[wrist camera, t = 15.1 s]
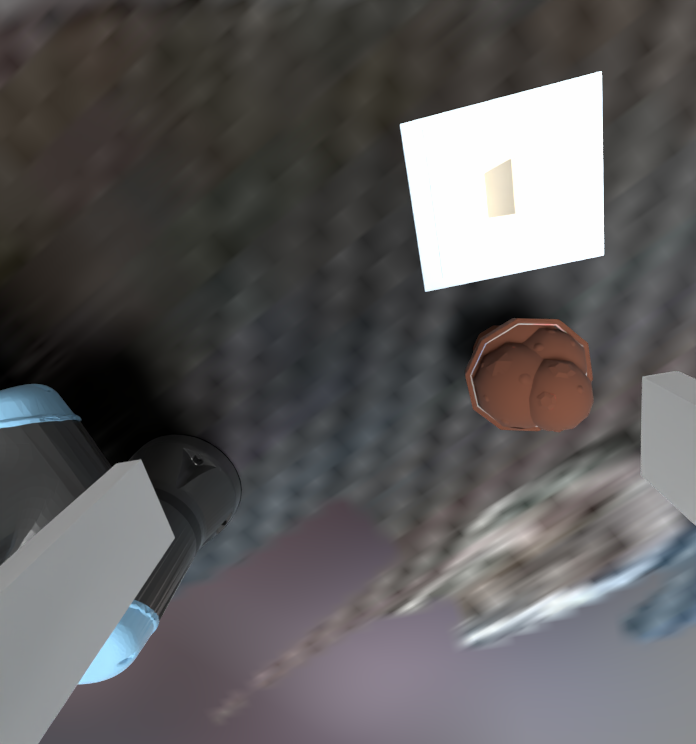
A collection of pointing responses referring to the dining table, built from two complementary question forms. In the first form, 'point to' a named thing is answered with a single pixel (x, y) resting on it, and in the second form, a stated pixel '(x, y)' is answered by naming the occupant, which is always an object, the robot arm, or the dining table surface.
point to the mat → (413, 129)
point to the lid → (509, 184)
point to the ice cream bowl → (531, 376)
